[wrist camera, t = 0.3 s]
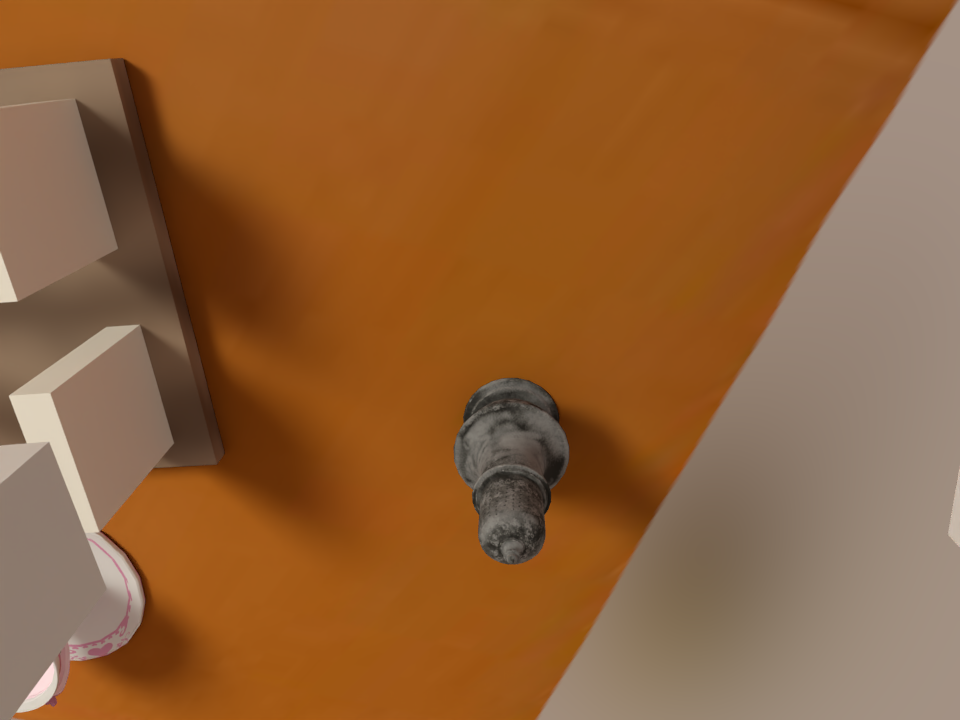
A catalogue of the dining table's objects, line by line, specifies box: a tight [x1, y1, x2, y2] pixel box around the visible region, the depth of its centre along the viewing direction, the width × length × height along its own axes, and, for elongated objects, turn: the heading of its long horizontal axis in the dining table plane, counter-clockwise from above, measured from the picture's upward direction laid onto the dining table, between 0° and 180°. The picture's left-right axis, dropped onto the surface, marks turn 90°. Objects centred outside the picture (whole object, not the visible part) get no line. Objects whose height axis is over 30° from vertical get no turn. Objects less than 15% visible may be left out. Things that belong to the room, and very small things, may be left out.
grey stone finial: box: [454, 378, 569, 564], centre depth 35 cm, size 6×6×12 cm
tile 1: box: [0, 99, 118, 303], centre depth 31 cm, size 7×2×8 cm, turn 5°
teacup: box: [16, 532, 146, 712], centre depth 44 cm, size 12×12×6 cm
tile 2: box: [9, 325, 174, 533], centre depth 35 cm, size 7×2×8 cm, turn 5°
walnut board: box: [0, 58, 225, 468], centre depth 38 cm, size 21×16×1 cm
